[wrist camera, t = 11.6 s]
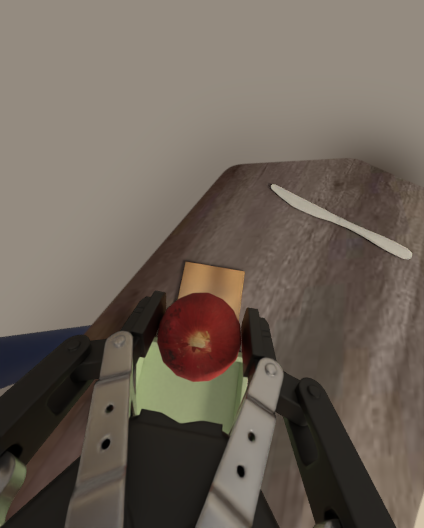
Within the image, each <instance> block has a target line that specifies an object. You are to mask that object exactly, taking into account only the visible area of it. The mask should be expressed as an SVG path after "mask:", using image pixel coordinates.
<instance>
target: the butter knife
mask: <svg viewBox="0 0 424 528" xmlns="http://www.w3.org/2000/svg"><path fill="white" fill-rule="evenodd" d="M271 189H272V190H273V191H274V192H276V193H277V194H278V195H279V196H280V197H281V198H282V199H284V200H285V201H286V202H287V203H289V204H290V205H291V206H293V207H295V208H297V209H299V210H301V211H303V212H306V213H308V214H310V215H313V216H315V217H318V218H321V219H325V220H328V221H331V222H333V223H336V224H338V225H341V226H343V227H346V228H348V229H350V230H352V231H354V232H356V233H358V234H359V235H361V236H363V237H365V238H366V239H368V240H369V241H371V242H373V243H374V244H376V245H377V246H379V247H381V248H383V249H385V250H386V251H388V252H390V253H392V254H394V255H396V256H398V257H400V258H402V259H410V258H411V257H412V253H411V252H410V251H409V250H408V249H407V248H405V247H404V246H402V245H400V244H398V243H396V242H394V241H392V240H390V239H388V238H385V237H383V236H381V235H379V234H376V233H374V232H371V231H369V230H366V229H364V228H362V227H359V226H357V225H355V224H353V223H350V222H348V221H346V220H344V219H342V218H340V217H338V216H336V215H334V214H332V213H330V212H328V211H326V210H324V209H322V208H321V207H319V206H317V205H315V204H313V203H311V202H309V201H307V200H305V199H303V198H301V197H299V196H297V195H295V194H293V193H290V192H288V191H286V190H285V189H283V188H281V187H279V186H277V185H275V184H273V185H271Z"/></svg>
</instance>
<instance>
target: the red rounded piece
mask: <svg viewBox="0 0 424 528" xmlns="http://www.w3.org/2000/svg"><path fill="white" fill-rule="evenodd" d="M157 344H158V347H159V351H160V354H161V357H162V361H163V363H164V364H165V365H166V366H167V367H168V368H170V370H171V371H172V372H173V373H174V374H175V375H177V376H179V377H181V378H184V379H187V380H189V381H192V382H202V381H210V380H212V379H214V378H216V377H217V376H219V375H221V374H223V373H224V372H225V371H226V370H227V369H228V368H229V367H230V366H231V365H232V364H233V363H234V362H235V361H236V359H237V356H238V353H239V349H240V346H241V330H240V323H239V321H238V319H237V316H236V314H235V312H234V310H233V309H232V308H231V307H230V306H229V305H228V304H227V303H226V302H225V301H224V300H223V299H222V298H219V297H217V296H215V295H213V294H211V293H191V294H189V295H186V296H184V297H181V298H179V299H178V300H177V301H176V302H174V303H173V304H172V305H171V306H170V307H168V308H167V310H166V312H165V314H164V316H163V317H162V319H161V321H160V323H159V330H158V339H157Z"/></svg>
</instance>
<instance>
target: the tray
mask: <svg viewBox="0 0 424 528" xmlns="http://www.w3.org/2000/svg"><path fill="white" fill-rule="evenodd" d="M157 339H158V337H154V339H153V342H152V344H151V346H150V348H149V350H148V353H147V355H146V357H145V358H143V357H140V358H139V360H138V362H137V364H136V365H137V373H136V403H137V415H139V414H140V411H141V409H147V410H152V411H157V412H162V413H163V414H165V415H167V416H168V417H170V418H172V419H174V420H175V421H177V422H179V423H187V422H195V421H202V420H203V421H208V422H213V423H219V424H223V428H222V431H224V432H225V433H227V434H228V433H229V430H230V428H231V425H232V423H233V421H234V418H235V416H236V414H237V411H238V409H239V406H240V404H241V401H242V399H243V396H244V394H245V391H246V388H247V378H246V377H243V363H242V353H241V352H239V353H238V356H237V359H236V361H235V362H234V363H233V364H232V365H231V366H230V367H229V368H228V369H227V370H226V371H225V372H224V373H223V374H221V375H219V376H217V377H216V378H214V379H212V380H210V381H202V382H192V381H189V380H187V379H184V378H181V377H179V376H177V375H175V374H174V373H173V372H172V371H171V370H170V368H168V367H167V366H166V365H165V364H164V363H163V361H162V357H161V354H160V351H159V347H158V344H157Z"/></svg>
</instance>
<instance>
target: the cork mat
mask: <svg viewBox="0 0 424 528" xmlns="http://www.w3.org/2000/svg"><path fill="white" fill-rule="evenodd" d="M244 273H245V272H244V271H238V270H232V269H226V268H220V267H214V266H208V265H203V264H197V263H191V262H186V263H185V267H184V272H183V277H182V282H181V286H180V291H179V296H178V299H179V298H181V297H184V296H186V295H189V294H191V293H211V294H213V295H215V296H217V297H219V298H222V299H223V300H224V301H225V302H226V303H227V304H228V305H229V306H230V307H231V308H232V309H233V310H234V312H235V314H236V316H237V319H238V321H239V313H240V305H241V297H242V289H243V281H244Z"/></svg>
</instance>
